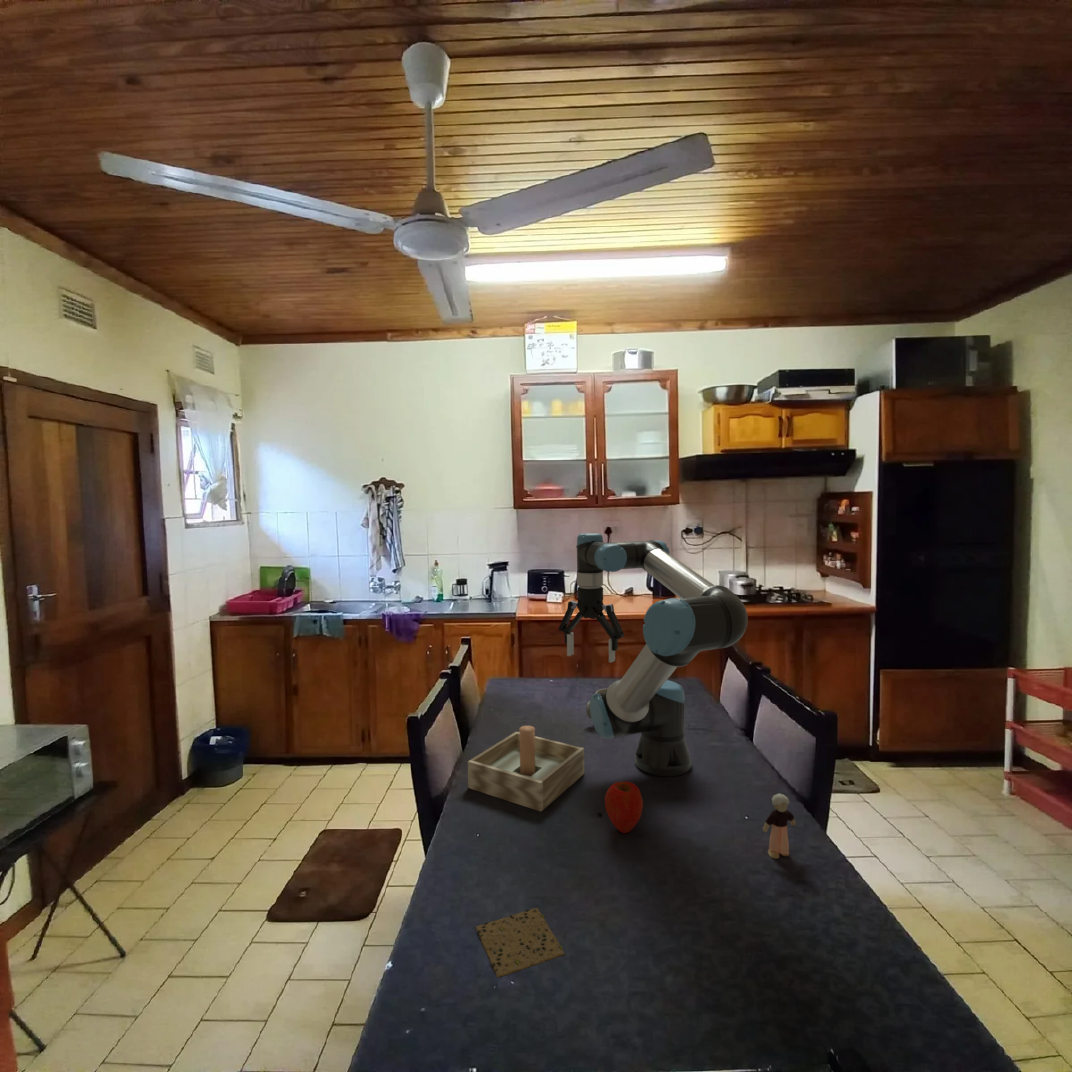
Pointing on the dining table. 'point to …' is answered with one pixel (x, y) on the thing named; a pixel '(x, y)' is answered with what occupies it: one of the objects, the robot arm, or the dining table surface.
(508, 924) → the cookie
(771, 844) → the grandmother figurine
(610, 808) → the apple
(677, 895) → the dining table surface
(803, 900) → the dining table surface
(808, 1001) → the dining table surface
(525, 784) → the box
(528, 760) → the peg
